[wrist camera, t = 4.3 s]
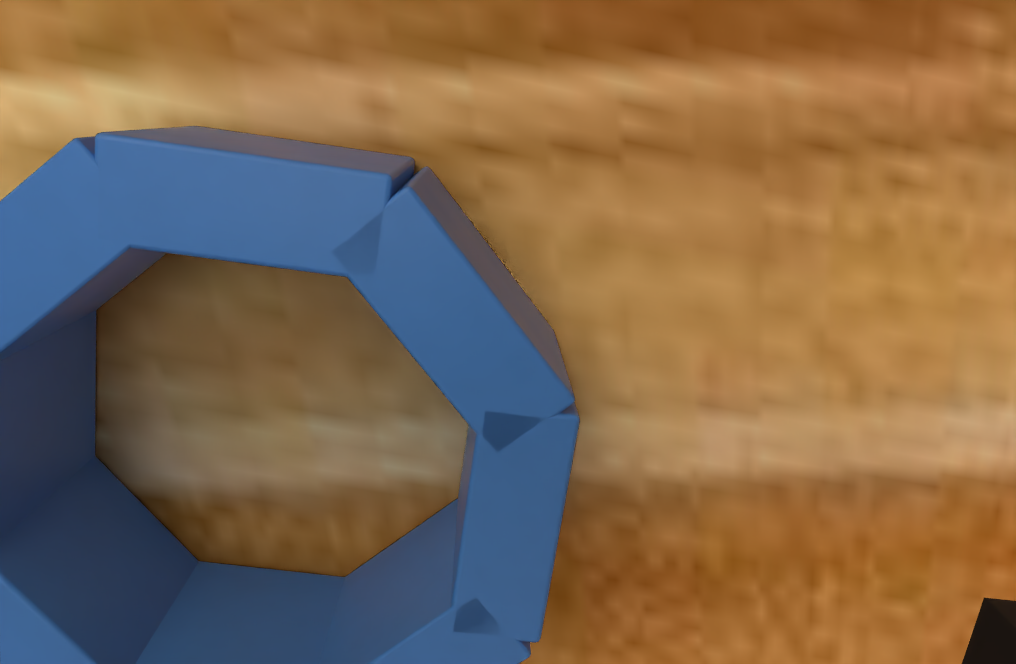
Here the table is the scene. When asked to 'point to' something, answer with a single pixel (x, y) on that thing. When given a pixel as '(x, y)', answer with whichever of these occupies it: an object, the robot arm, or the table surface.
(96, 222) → the blue octagonal ring
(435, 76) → the table surface
